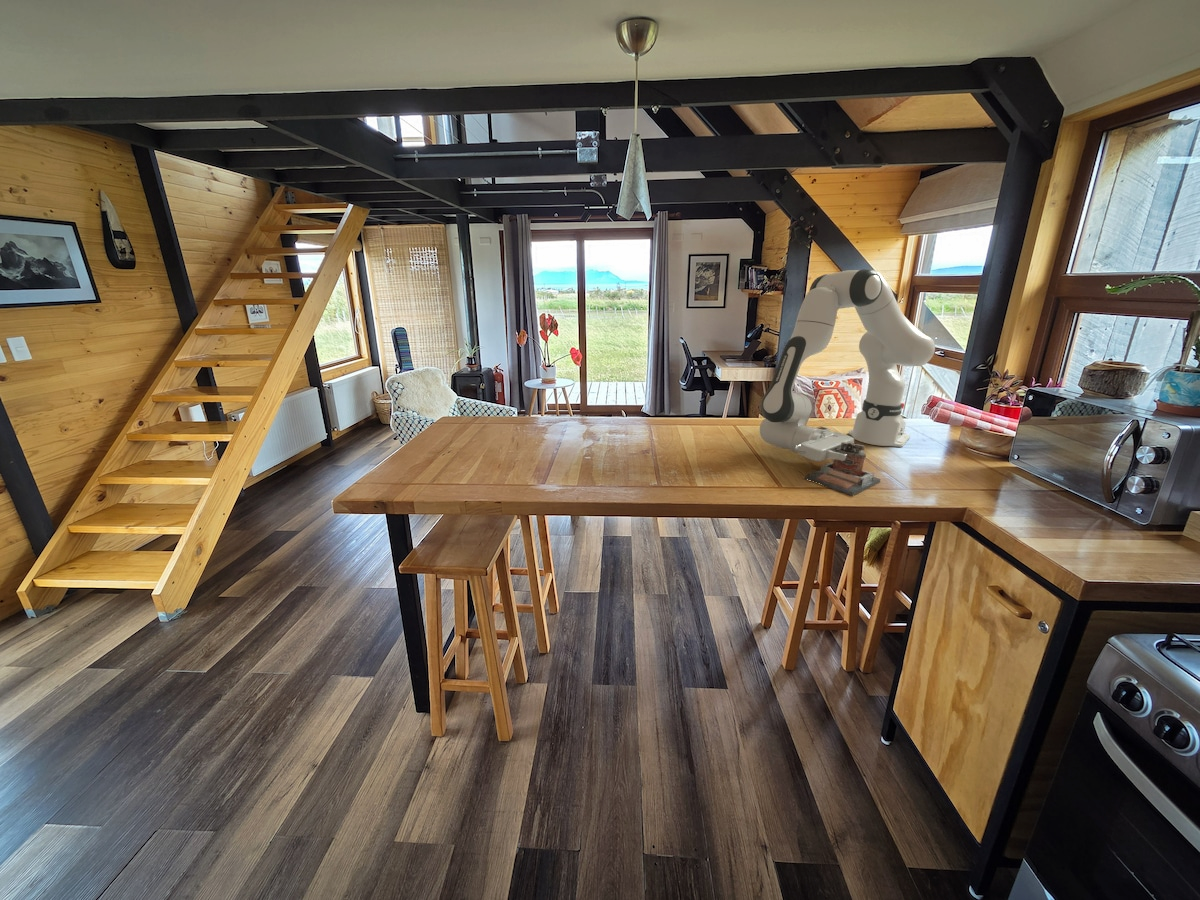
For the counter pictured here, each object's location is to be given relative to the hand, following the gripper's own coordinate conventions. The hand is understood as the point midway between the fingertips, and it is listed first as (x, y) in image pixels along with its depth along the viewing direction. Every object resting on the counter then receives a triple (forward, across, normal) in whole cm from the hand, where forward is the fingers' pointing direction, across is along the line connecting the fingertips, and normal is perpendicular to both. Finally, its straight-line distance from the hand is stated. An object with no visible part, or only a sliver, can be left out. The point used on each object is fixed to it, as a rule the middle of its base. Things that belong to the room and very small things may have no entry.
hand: (854, 454), depth 137 cm
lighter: (-1, 0, +7) cm, 7 cm away
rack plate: (-1, -2, +8) cm, 8 cm away
